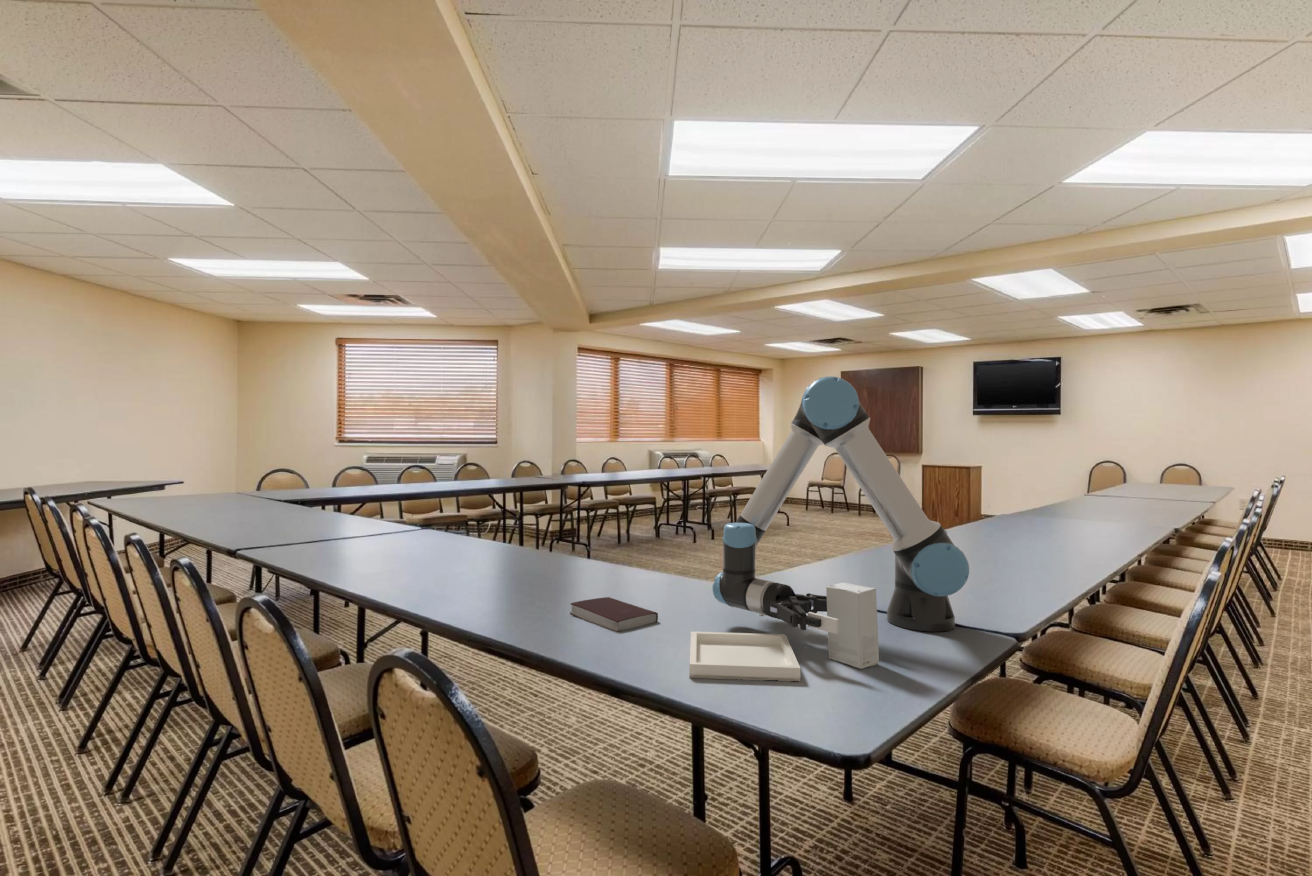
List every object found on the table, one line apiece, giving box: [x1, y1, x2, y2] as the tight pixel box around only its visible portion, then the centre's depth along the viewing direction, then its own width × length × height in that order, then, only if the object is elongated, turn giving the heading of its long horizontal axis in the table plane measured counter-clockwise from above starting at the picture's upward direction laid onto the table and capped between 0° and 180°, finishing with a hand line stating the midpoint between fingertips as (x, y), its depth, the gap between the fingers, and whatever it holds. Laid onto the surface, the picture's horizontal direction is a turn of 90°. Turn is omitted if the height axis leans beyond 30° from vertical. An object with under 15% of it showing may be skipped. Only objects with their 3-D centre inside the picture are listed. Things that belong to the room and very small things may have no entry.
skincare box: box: [825, 582, 880, 670], centre depth 126 cm, size 8×6×15 cm
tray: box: [688, 631, 801, 683], centre depth 125 cm, size 20×20×2 cm
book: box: [569, 596, 659, 633], centre depth 155 cm, size 13×19×3 cm, turn 41°
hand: (857, 620), depth 125 cm, fingers open, 13 cm apart
